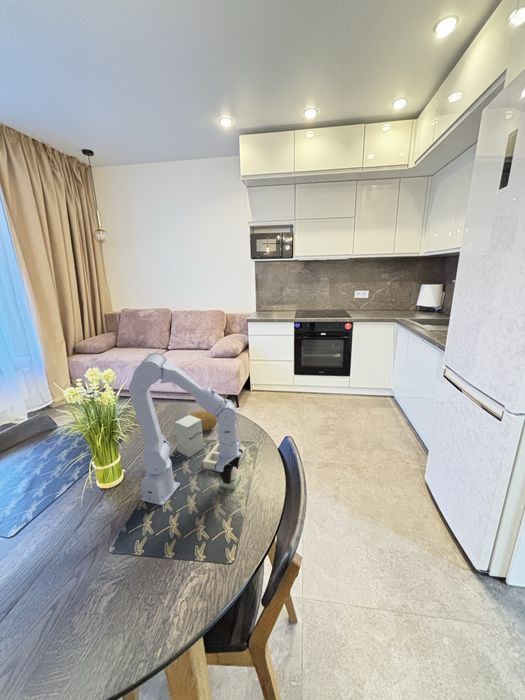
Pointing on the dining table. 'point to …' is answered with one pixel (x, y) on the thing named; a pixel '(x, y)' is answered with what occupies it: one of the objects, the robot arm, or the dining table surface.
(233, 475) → the cream egg
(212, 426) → the potato
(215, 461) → the carton
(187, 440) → the supplement box
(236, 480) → the mint square frame
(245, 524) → the dining table surface
